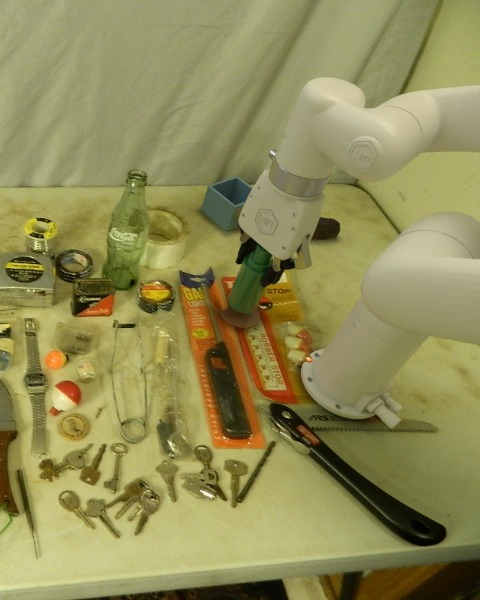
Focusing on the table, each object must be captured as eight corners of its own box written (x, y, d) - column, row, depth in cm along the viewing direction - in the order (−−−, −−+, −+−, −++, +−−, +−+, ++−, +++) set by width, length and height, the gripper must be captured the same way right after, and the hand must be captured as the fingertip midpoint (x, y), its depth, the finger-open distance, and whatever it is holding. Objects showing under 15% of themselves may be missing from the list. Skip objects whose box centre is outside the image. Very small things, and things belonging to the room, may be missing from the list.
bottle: (263, 307, 89) (290, 251, 80) (241, 317, 87) (266, 261, 78) (242, 288, 92) (266, 232, 83) (221, 297, 90) (243, 241, 81)
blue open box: (254, 222, 110) (264, 196, 105) (225, 233, 106) (235, 207, 102) (228, 201, 114) (237, 175, 109) (200, 211, 111) (207, 185, 106)
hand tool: (246, 240, 106) (253, 222, 102) (242, 227, 108) (249, 209, 105) (339, 248, 106) (349, 230, 103) (333, 235, 109) (343, 217, 105)
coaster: (267, 319, 91) (268, 318, 91) (237, 334, 88) (238, 332, 88) (239, 293, 95) (240, 292, 95) (210, 306, 92) (210, 305, 92)
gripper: (235, 150, 74) (203, 247, 88) (329, 218, 65) (278, 316, 78) (272, 138, 78) (236, 234, 91) (368, 202, 68) (312, 299, 81)
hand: (255, 271), depth 84 cm, fingers closed on bottle, 5 cm apart
